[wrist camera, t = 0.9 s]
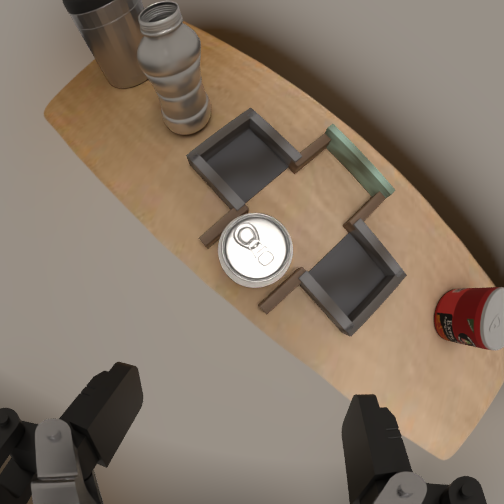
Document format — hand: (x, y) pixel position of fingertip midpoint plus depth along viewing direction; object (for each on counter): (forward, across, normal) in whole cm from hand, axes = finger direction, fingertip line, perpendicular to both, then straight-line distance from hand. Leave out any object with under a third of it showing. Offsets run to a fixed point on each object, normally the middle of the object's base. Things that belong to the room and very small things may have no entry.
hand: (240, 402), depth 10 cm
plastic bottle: (+32, +13, -14) cm, 37 cm away
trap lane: (+29, -3, -2) cm, 29 cm away
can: (+26, +2, +3) cm, 27 cm away
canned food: (+27, -28, +9) cm, 40 cm away
